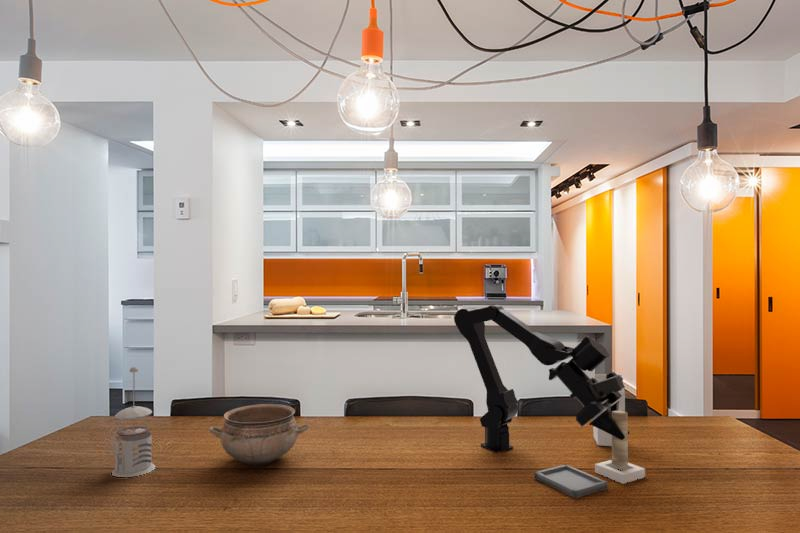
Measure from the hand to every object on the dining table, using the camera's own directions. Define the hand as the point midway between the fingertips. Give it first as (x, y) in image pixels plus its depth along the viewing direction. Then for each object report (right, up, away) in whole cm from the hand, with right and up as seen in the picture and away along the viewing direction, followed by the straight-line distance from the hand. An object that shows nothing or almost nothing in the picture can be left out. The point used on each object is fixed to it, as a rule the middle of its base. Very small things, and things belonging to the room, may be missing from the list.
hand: (625, 436), depth 120 cm
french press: (-118, -10, +4) cm, 118 cm away
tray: (-14, -9, -4) cm, 18 cm away
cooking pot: (-88, -10, +10) cm, 89 cm away
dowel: (-1, -7, +1) cm, 7 cm away
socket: (-1, -9, +1) cm, 9 cm away
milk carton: (+6, -10, +24) cm, 26 cm away
